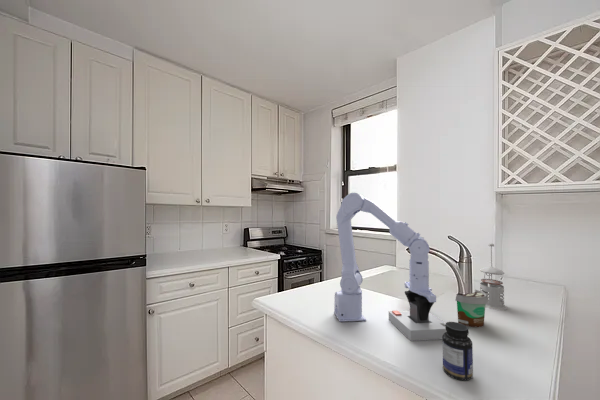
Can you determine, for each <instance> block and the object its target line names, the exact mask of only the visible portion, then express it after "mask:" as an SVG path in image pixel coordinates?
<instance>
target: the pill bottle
mask: <svg viewBox="0 0 600 400" xmlns="http://www.w3.org/2000/svg"><path fill="white" fill-rule="evenodd" d="M445 326H446V327H445V329H446V331H447V332H445V333H444V334H443V336H442V339H441V340H442V370H443V372H444V373H446V374H447V375H448V376H449V377H451V378H453V379H454V380H458V381H469V380H472V379H473V375H474V370H473V369H474V366H473V365H474V363H473V362H474V361H473V357H474V356H473V355H474V353H473V341H472V339H471V337H469V336H468V335H469V334H470V332H469V326H465V325H463V324H461V323H458V322H457V321H447V322H446V324H445Z"/></svg>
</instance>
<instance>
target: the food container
mask: <svg viewBox="0 0 600 400" xmlns="http://www.w3.org/2000/svg"><path fill="white" fill-rule="evenodd" d="M488 299H489V298H488ZM488 299H487V296H486V294H485V293H483V292H481V291H480V290H478V289H475V290H474V292H472V293H471V292H469V293H467V292H466V293H464V294H463V295H460V294H458V293H457V294H456V295H455V302H456V310H457V312H456V313H457V321H458V323H461V324H463V325H465V326H467V327H468V328H469V327H470V328H483V327H484V325H485V312H486V307H485V304H486V303H488Z"/></svg>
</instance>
